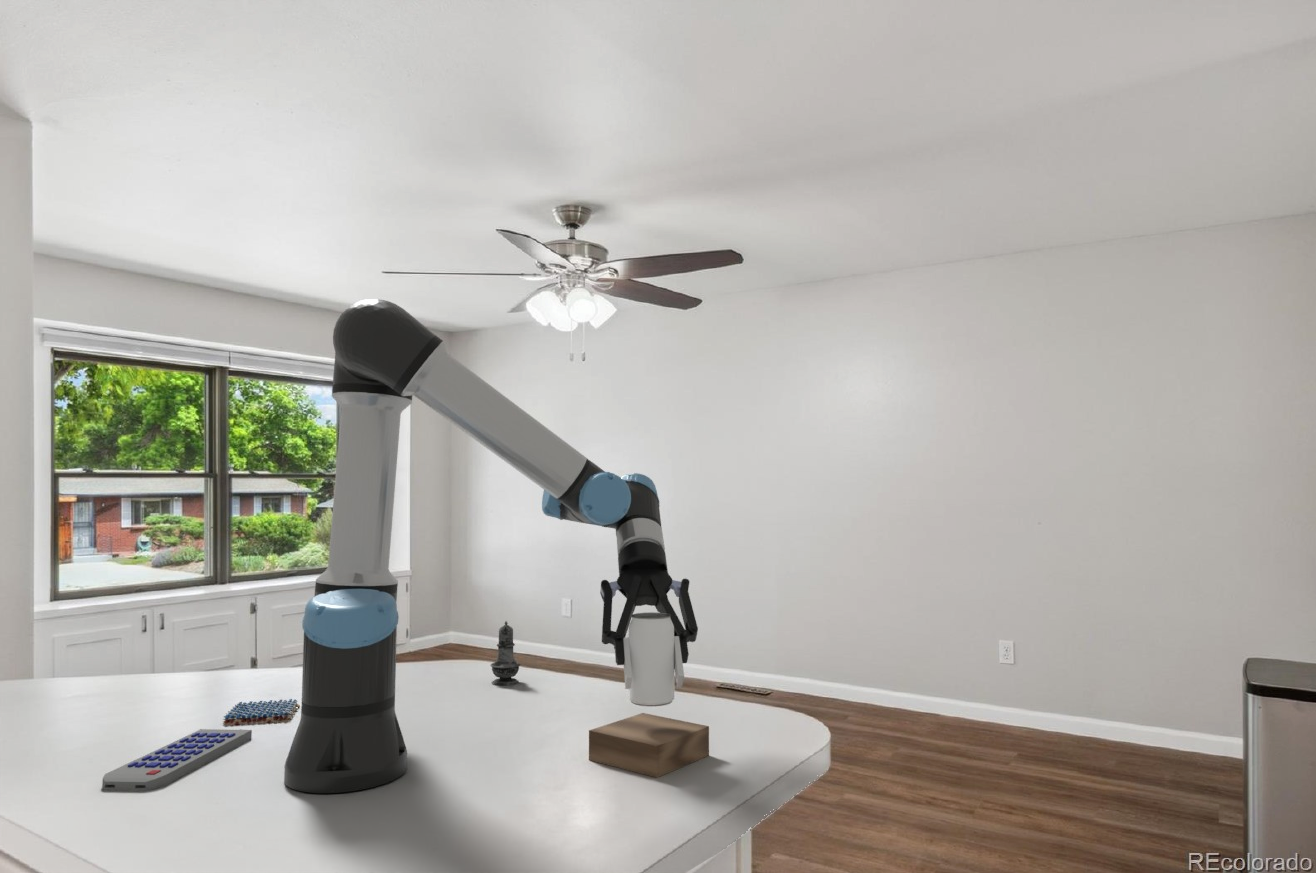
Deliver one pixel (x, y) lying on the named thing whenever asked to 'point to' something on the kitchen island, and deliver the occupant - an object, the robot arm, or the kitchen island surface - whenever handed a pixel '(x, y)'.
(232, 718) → the woven mat
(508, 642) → the salt shaker
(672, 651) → the can
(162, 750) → the remote control
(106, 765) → the kitchen island surface
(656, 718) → the walnut stand
